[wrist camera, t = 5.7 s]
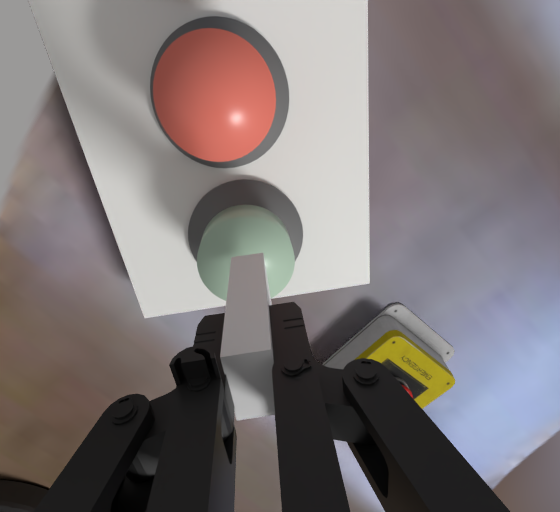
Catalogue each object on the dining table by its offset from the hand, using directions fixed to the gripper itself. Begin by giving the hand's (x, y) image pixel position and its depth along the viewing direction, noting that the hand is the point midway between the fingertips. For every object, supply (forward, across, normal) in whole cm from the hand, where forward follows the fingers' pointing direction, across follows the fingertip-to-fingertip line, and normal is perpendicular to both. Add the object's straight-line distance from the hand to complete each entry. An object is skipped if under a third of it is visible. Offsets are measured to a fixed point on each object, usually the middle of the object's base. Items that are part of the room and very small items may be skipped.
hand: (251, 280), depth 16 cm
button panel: (+9, 0, -8) cm, 12 cm away
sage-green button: (+4, 0, 0) cm, 4 cm away
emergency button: (+10, -8, +18) cm, 22 cm away
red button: (+4, 0, -8) cm, 9 cm away
